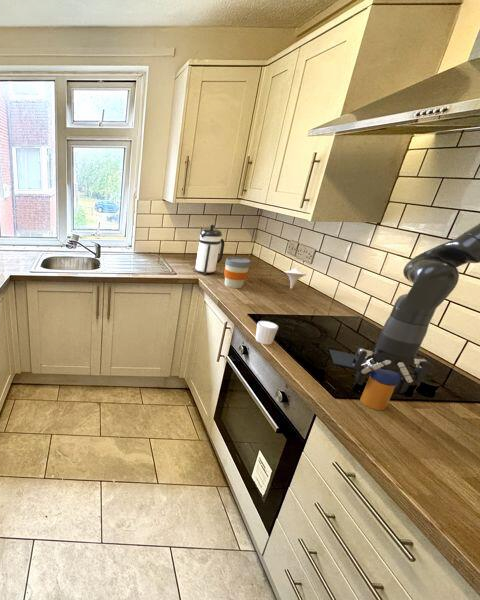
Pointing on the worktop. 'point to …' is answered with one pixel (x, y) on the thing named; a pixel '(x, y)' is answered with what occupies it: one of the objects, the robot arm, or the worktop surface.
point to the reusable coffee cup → (236, 271)
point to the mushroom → (294, 276)
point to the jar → (376, 394)
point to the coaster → (343, 358)
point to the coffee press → (209, 250)
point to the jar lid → (385, 376)
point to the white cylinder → (266, 332)
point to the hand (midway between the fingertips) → (378, 387)
